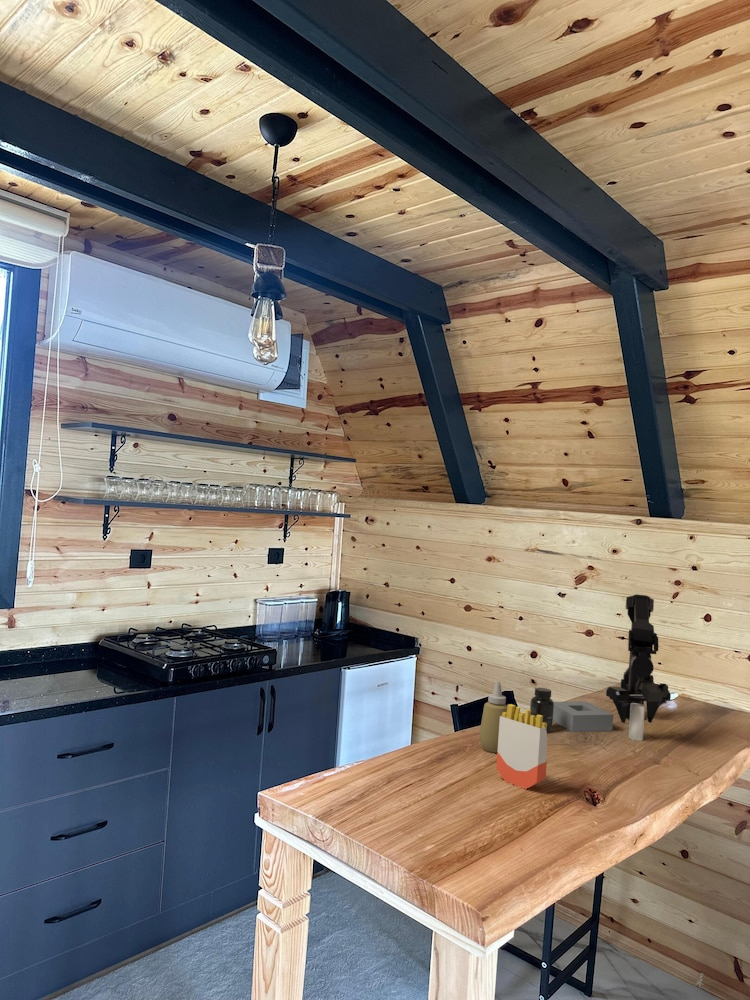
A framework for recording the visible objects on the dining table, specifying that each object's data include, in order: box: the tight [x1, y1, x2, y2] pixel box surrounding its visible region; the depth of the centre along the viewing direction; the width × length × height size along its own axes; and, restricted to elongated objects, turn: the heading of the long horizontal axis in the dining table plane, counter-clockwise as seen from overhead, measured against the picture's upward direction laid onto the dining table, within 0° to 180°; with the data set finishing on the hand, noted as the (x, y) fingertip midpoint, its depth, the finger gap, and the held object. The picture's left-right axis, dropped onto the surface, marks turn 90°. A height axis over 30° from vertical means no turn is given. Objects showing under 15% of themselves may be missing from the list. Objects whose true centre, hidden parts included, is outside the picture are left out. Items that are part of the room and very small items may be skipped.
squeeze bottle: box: [479, 681, 508, 754], centre depth 183 cm, size 8×8×18 cm
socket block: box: [553, 700, 614, 733], centre depth 212 cm, size 14×14×5 cm
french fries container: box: [495, 703, 548, 790], centre depth 160 cm, size 5×11×18 cm, turn 47°
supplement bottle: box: [529, 687, 555, 734], centre depth 204 cm, size 7×7×12 cm
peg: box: [627, 703, 646, 742], centre depth 201 cm, size 4×4×10 cm
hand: (636, 722), depth 201 cm, fingers open, 9 cm apart
